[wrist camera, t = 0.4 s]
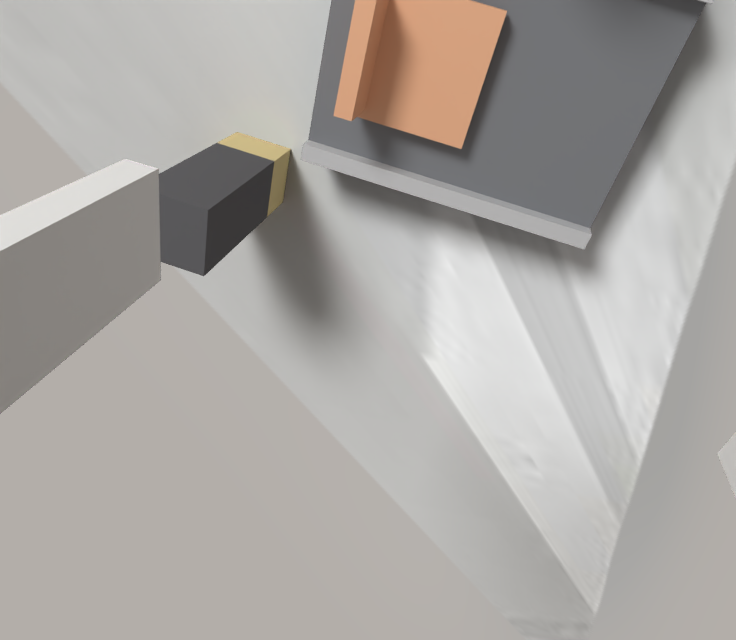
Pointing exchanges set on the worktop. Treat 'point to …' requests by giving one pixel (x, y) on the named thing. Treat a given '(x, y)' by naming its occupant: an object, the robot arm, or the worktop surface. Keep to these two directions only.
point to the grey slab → (523, 114)
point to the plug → (218, 199)
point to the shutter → (418, 65)
